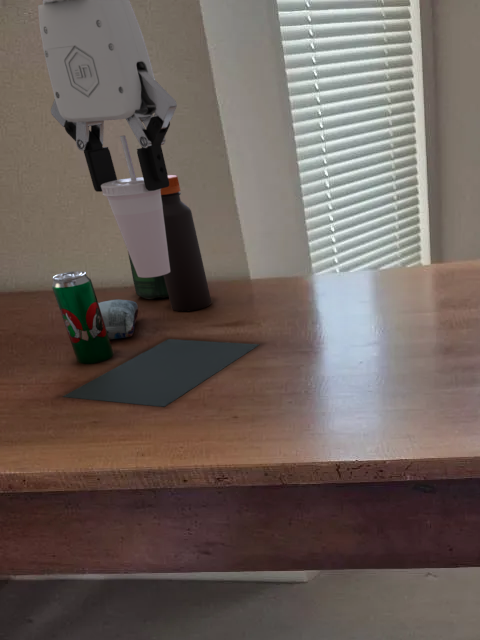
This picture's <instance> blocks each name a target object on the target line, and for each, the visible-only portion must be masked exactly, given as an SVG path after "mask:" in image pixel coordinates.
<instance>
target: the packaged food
mask: <svg viewBox="0 0 480 640" xmlns="http://www.w3.org/2000/svg"><path fill="white" fill-rule="evenodd" d="M98 304H99V307H100V310H101V314H102V317H103V320H104V323H105V327H106V330H107V333H108V336H109V340H110V341H111V340H117V339H125V338H130V337H132V336H133V334H134V331H135V327H136V322H137V319H138V315H139V306H138V303H137V302H136V301H134V300H129V299H118V298H117V299H116V298H115V299H109V300H104V301H100V302H98Z"/></svg>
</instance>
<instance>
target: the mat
mask: <svg viewBox="0 0 480 640" xmlns="http://www.w3.org/2000/svg"><path fill="white" fill-rule="evenodd" d="M259 346H260V343H259V344H258V343H244V342H243V343H241V342H227V341H210V340H193V339H192V340H191V339H176V338H168V339H166V340H164V341H162V342H160V343H158V344H156V345H155V346H153V347H151V348H149V349H147V350H146V351H143V352H141V353H140V354H138V355H136V356H135V357H133V358H131V359H129V360H127V361H125V362H123V363H122V364H120V365H118V366H116V367H114V368H112V369H110V370H109V371H107V372H105V373H103V374H102V375H100V376H97V377H96V378H94V379H92V380H89V382H86V383H84V384H83V385H81V386H79V387H77V388H75V389H73V390H72V391H70V392H68V393H66V394H64V395H63V396H62V398H68V399H79V400H89V401H97V402H108V403H119V404H128V405H139V406H147V407H156V408H157V407H158V408H165V407H168V406H169V405H170V404H172V403H173V402H175V401H177V400H178V399H180V398H181V397H182V396H184V395H185V394H187V393H189V392H190V391H192V390H194V389H195V388H196V387H198V386H200V385H201V384H203V383H204V382H205V381H207V380H208V379H210V378H211V377H213V376H215V375H216V374H217V373H219V372H221V371H222V370H224V369H225V368H227V367H228V366H230V365H231V364H233V363H235V362H236V361H237V360H239V359H241V358H242V357H244V356H245V355H246V354H249V353H250V352H251V351H253V350H254V349H256V348H258V347H259Z"/></svg>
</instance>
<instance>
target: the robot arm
mask: <svg viewBox="0 0 480 640" xmlns="http://www.w3.org/2000/svg"><path fill="white" fill-rule="evenodd" d="M41 1H42V4H38V5H37V12H38V13H37V14H38V25H39V31H40V37H41V44H42V49H43V50H42V51H43V55H44V60H45V65H46V67H47V73H48V77H49V81H50V86H51V89H52V94H53V98H54V100H53V102H52V105H51V108H50V113H51V116H52V117H53V118H54V119H55V120H56V121H57V122H58V123H59V124H60V125H61V126H62V127H63V128H64V130H65V132H66V133H67V135H68V136H69V137H70V138H71V139H73V141H74V142H75V144H76V147H77V149H78V150H79V151H81V152H83V154H84V157H85V162H86V166H87V169H88V172H89V176H90V180H91V182H92V186H93V190H94V191H95V192H97V193H98V192H99V193H100V192H102V188H101V185H102V184H104V183H107V182H110V181H115V180H118V177H117V174H116V169H115V166H114V162H113V158H112V154H111V151H110V148H109V146H104V131H105V129H104V128H105V121H116V120H125V121H126V122H127V124H128V126H129V128H130V130H131V131H132V133H133V135H134V136H135V138H136V140H137V141H138V143H139V145H140V146H141V147H139V148H136V154H137V158H138V163H139V166H140V170H141V175H142V177H143V179H144V183H145V187H146V189H147V190H148V191H155V190H158V189H162V188H166V187H168V186H169V179H168V175H169V174H168V170H167V169H168V168H167V165H166V162H165V157H164V153H163V148H162V146H163V145H165V143H166V135H167V133H168V130H169V128H170V126H171V120H172V119H173V116H174V114H175V112H176V109H177V105H178V104H177V101H176V100H175V98H174V97H173V96H172V95H171V94H170V93H168V91H167V90H166V89H165V88H164V87H163V86H162V85H161V84H160V83H159V82H158V81H157V80H156V78H155V74H154V69H153V64H152V62H151V58H150V55H149V51H148V48H147V45H146V41H145V38H144V34H143V33H142V29H141V27H140V24H139V21H138V18H137V16H136V13H135V10H134V8H133V6H132V3H131V1H130V0H41ZM102 193H103V192H102Z"/></svg>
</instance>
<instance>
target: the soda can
mask: <svg viewBox="0 0 480 640" xmlns="http://www.w3.org/2000/svg"><path fill="white" fill-rule="evenodd" d="M51 279H52V281H53V282H52V285H51V289H52V291H53V294H54V297H55V300H56V304H57V306H58V309H59V312H60V315H61V318H62V320H63V323H64V327H65V329H66V332H67V335H68V338H69V341H70V344H71V347H72V350H73V353H74V356H75V359H76V362H77V363H79V364H81V365H94V364H99V363H103V362H106V361H108V360H111V359H112V358H113V357H114V355H115V354H114V350H113V346H112V343H111V339H110V340H109V336H108V333H107V330H106V327H105V323H104V320H103V317H102V314H101V310H100V307H99V304H98V303H99V302H98V297H97V295H96V291H95V288H94V284H93V282H92V279H91V278H90V277H89V276H88V275H87V272H86V271H84V270H73V271H67V272H61V273H58V274H56V275H54V276H53V277H51Z"/></svg>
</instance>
